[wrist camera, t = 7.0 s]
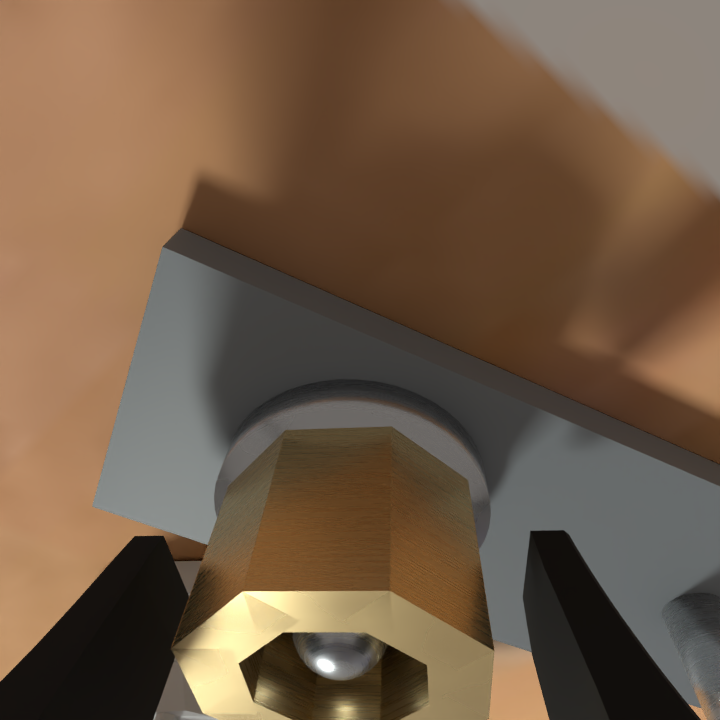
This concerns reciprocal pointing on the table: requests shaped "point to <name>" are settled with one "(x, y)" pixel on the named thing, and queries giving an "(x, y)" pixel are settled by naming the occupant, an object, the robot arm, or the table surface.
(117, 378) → the table surface
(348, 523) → the collar
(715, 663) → the stand rod
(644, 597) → the base board
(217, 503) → the hub
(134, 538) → the robot arm
